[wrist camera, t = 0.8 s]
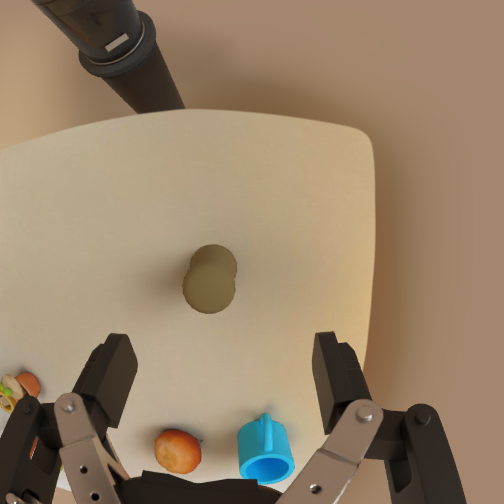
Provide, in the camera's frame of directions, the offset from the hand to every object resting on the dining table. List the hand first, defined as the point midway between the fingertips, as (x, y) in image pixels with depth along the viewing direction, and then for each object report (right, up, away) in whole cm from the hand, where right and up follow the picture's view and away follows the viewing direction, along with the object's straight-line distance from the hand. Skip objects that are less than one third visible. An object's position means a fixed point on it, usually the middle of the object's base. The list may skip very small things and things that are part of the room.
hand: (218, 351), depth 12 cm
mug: (+3, -25, +31) cm, 40 cm away
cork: (-3, +2, +26) cm, 27 cm away
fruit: (-11, -27, +30) cm, 42 cm away
